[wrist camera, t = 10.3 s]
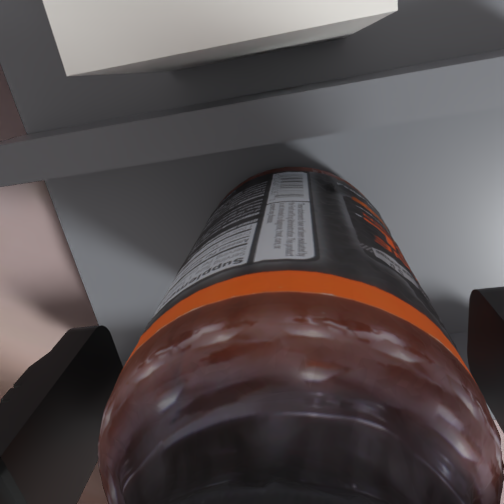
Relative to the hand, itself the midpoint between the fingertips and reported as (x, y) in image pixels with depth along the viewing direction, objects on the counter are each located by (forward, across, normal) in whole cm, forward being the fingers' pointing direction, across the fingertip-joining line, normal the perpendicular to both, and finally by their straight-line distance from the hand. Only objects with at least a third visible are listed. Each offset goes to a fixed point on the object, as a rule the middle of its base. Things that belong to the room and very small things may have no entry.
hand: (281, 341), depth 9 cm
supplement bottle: (+5, 0, 0) cm, 5 cm away
